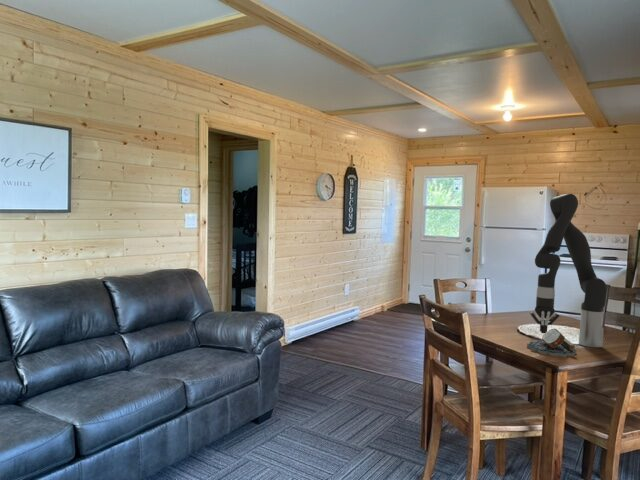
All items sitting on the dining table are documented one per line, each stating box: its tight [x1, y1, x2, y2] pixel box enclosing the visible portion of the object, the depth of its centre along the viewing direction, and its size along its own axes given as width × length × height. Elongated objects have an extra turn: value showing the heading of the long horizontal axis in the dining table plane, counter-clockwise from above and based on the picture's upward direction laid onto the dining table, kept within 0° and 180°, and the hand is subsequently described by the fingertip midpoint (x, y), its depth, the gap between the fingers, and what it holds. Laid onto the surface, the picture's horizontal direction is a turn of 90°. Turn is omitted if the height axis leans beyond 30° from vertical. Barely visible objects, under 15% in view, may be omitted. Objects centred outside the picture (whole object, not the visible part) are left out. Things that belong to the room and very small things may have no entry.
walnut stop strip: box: [561, 337, 576, 351], centre depth 216 cm, size 2×16×2 cm, turn 170°
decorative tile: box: [526, 340, 577, 358], centre depth 216 cm, size 20×20×2 cm
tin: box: [541, 328, 566, 348], centre depth 216 cm, size 15×3×8 cm
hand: (543, 332), depth 218 cm, fingers closed
